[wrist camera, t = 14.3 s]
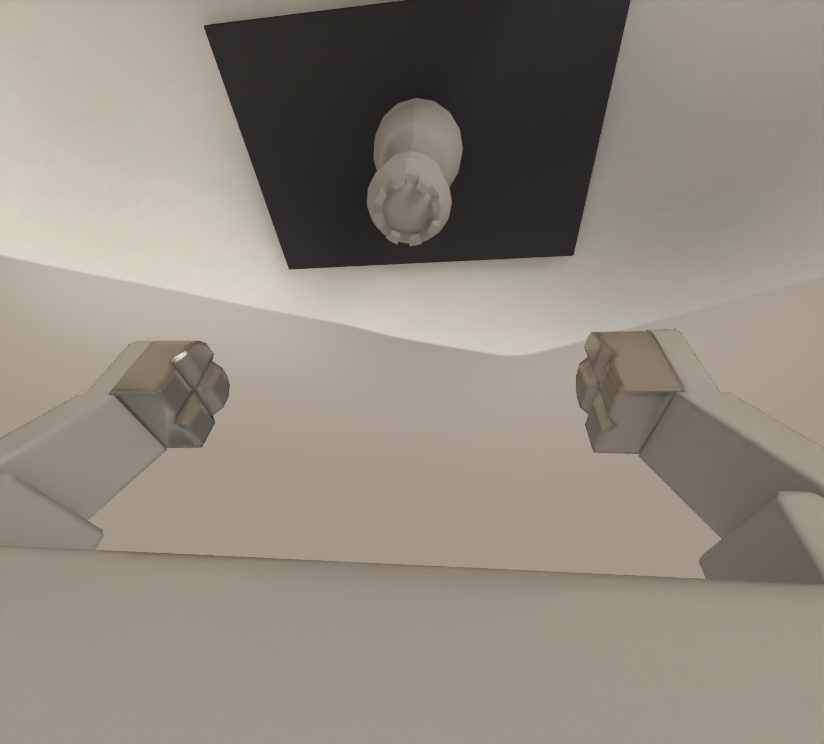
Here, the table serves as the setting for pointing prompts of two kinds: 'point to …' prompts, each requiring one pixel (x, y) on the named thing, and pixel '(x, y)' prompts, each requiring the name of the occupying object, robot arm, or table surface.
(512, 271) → the table surface
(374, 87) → the mat
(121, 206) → the table surface
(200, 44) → the table surface
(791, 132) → the table surface
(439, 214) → the rook chess piece
